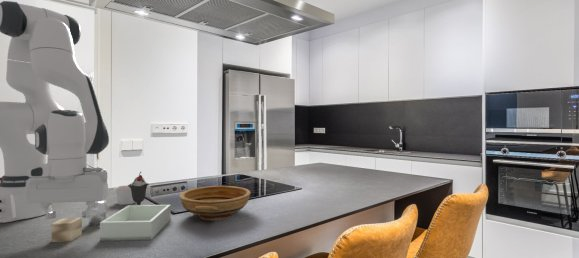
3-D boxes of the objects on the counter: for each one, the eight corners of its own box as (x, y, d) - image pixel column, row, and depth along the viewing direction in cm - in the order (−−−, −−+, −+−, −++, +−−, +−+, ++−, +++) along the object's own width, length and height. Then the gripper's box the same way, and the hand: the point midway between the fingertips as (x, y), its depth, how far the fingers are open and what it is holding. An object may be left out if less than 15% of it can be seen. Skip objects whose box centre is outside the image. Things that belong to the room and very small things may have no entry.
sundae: (141, 215, 107) (140, 172, 107) (124, 214, 108) (124, 171, 108) (153, 210, 113) (153, 169, 113) (137, 209, 115) (136, 169, 115)
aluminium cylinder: (84, 226, 96) (84, 204, 95) (93, 221, 101) (93, 200, 100) (101, 226, 96) (101, 204, 96) (109, 221, 101) (109, 199, 101)
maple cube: (51, 242, 83) (51, 223, 83) (63, 235, 88) (63, 218, 88) (71, 241, 84) (70, 223, 84) (81, 234, 89) (81, 217, 89)
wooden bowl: (195, 203, 123) (195, 183, 123) (255, 204, 123) (255, 184, 123) (163, 229, 94) (163, 203, 93) (243, 230, 93) (243, 204, 93)
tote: (151, 239, 85) (151, 221, 85) (99, 240, 84) (99, 222, 84) (170, 219, 103) (170, 204, 103) (128, 220, 102) (128, 205, 102)
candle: (115, 201, 126) (115, 186, 126) (140, 199, 130) (140, 184, 130) (113, 206, 118) (113, 190, 118) (139, 204, 122) (139, 188, 122)
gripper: (112, 165, 90) (113, 213, 90) (37, 167, 88) (38, 216, 88) (101, 168, 84) (102, 219, 84) (20, 170, 82) (21, 222, 82)
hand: (68, 217), depth 86 cm, fingers open, 8 cm apart
